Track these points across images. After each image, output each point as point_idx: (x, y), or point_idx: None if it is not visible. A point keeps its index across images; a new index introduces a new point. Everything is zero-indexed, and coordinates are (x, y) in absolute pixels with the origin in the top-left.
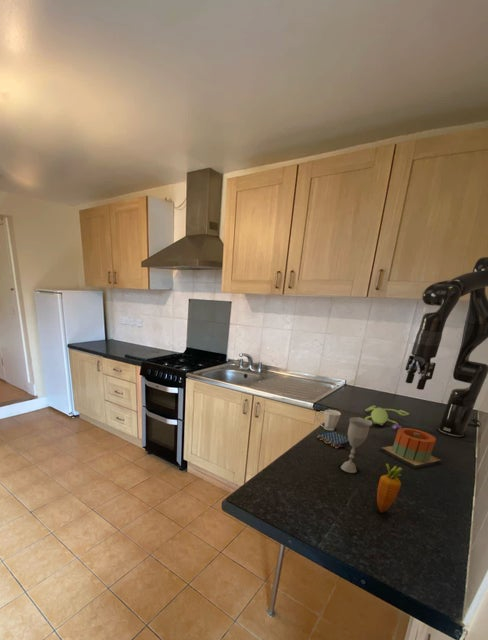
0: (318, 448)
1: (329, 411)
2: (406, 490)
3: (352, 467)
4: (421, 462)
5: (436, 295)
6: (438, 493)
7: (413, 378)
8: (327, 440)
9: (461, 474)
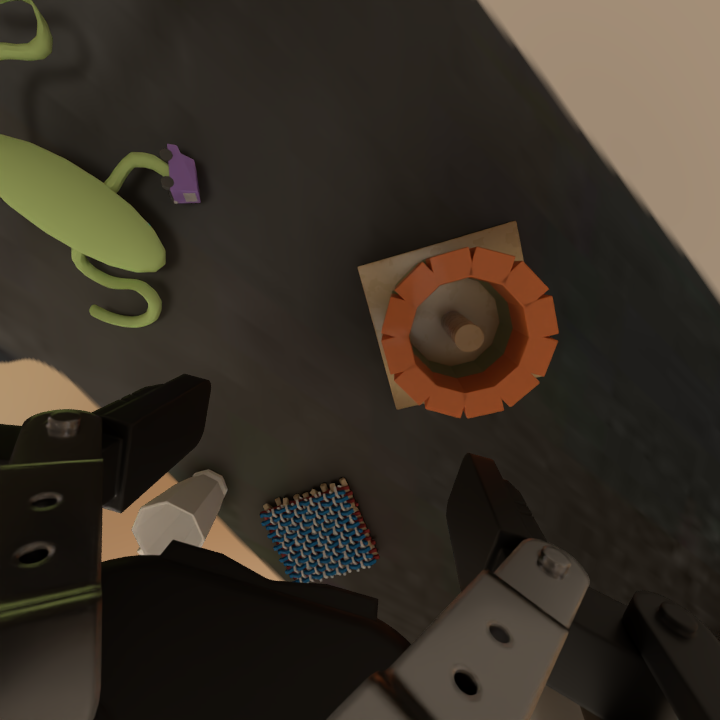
0: None
1: (141, 523)
2: (656, 500)
3: None
4: None
5: None
6: (694, 411)
7: (176, 401)
8: (340, 574)
9: (602, 201)
